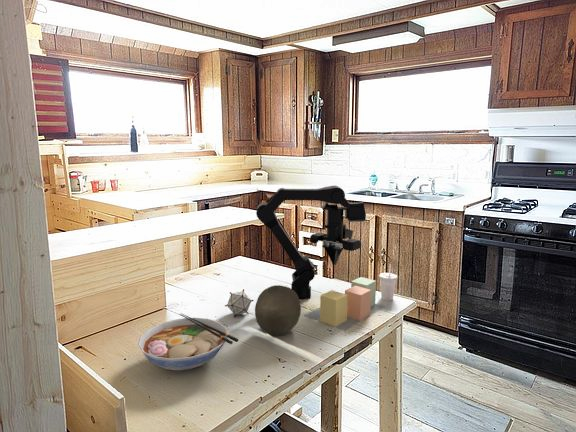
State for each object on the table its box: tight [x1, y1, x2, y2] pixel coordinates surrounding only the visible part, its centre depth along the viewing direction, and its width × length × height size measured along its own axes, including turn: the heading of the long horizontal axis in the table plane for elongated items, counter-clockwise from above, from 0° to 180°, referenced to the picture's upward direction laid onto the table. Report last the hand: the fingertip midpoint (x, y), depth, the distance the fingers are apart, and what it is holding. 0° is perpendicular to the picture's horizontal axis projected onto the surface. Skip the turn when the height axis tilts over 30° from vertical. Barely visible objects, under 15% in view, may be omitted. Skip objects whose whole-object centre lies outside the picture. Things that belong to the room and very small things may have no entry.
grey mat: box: [303, 303, 385, 331], centre depth 140 cm, size 16×24×1 cm, turn 138°
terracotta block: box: [344, 286, 371, 322], centre depth 136 cm, size 6×6×8 cm
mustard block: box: [319, 289, 348, 328], centre depth 132 cm, size 6×6×8 cm
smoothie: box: [378, 263, 398, 301], centre depth 150 cm, size 6×6×14 cm
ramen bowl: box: [137, 312, 239, 371], centre depth 110 cm, size 25×23×8 cm
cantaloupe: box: [254, 284, 302, 337], centre depth 125 cm, size 14×14×15 cm
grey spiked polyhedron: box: [224, 288, 254, 318], centre depth 140 cm, size 9×8×10 cm
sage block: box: [350, 276, 377, 306], centre depth 144 cm, size 6×6×8 cm
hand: (334, 264), depth 151 cm, fingers closed
